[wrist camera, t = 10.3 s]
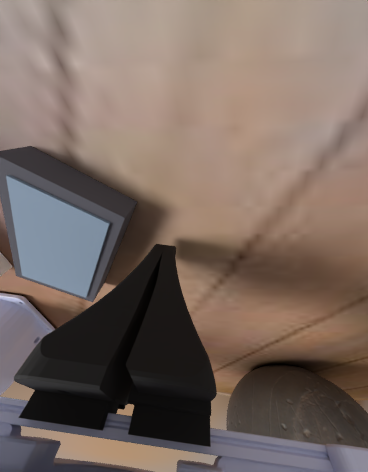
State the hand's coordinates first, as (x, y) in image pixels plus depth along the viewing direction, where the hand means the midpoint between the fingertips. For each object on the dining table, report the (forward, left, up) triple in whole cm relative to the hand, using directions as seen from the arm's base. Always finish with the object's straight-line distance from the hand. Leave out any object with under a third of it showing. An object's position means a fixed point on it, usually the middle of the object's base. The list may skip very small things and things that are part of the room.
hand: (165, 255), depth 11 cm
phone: (0, +7, -1) cm, 7 cm away
